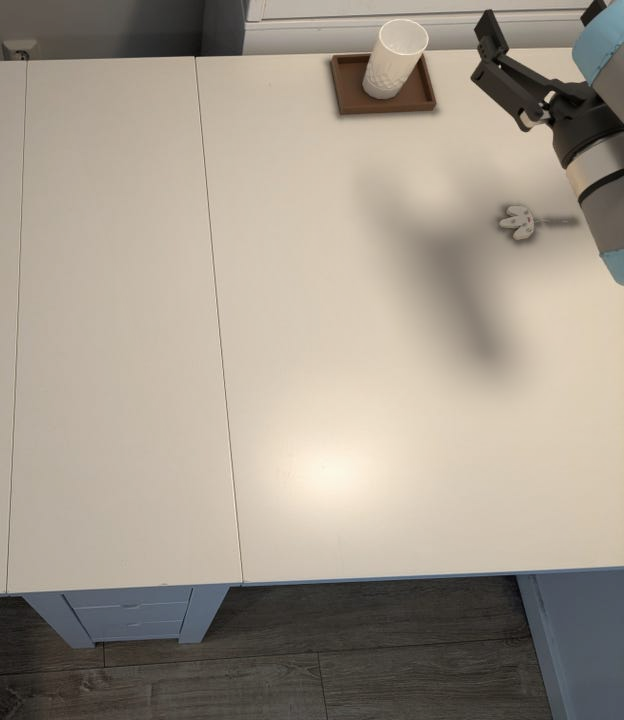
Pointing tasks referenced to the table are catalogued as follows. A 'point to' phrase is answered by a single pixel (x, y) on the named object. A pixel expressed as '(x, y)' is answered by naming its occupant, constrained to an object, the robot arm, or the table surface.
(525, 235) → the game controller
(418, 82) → the tray
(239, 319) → the table surface
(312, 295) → the table surface
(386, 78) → the white cup
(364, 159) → the table surface
